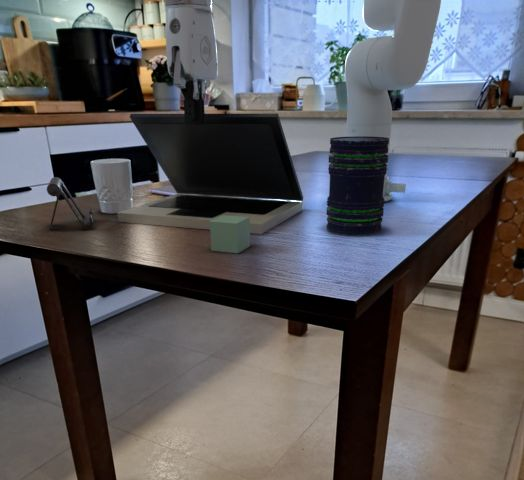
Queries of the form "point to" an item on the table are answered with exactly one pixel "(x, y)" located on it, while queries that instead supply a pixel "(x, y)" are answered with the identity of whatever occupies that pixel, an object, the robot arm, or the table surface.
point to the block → (230, 234)
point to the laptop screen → (222, 154)
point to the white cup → (113, 184)
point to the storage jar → (356, 185)
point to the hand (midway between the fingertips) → (195, 124)
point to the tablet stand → (56, 190)
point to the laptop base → (211, 211)
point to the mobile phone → (166, 191)
